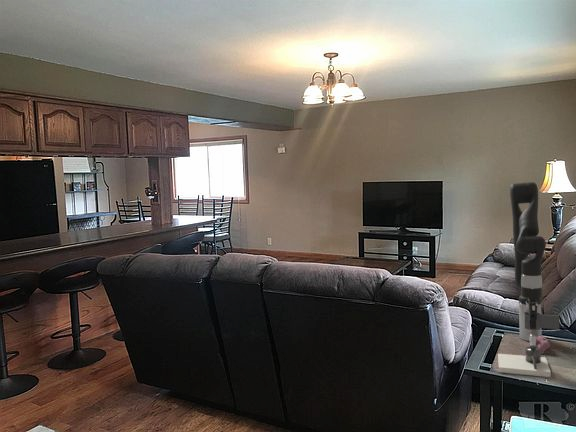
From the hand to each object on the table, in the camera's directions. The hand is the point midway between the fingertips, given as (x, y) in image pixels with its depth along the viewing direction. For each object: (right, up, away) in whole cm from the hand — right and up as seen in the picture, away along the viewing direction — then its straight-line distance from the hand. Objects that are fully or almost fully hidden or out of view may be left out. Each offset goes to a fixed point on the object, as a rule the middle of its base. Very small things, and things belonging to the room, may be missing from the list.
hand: (532, 326), depth 186 cm
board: (-4, -17, 0) cm, 17 cm away
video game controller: (+13, -15, +17) cm, 26 cm away
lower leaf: (0, -15, -2) cm, 15 cm away
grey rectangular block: (+3, -1, -1) cm, 3 cm away
